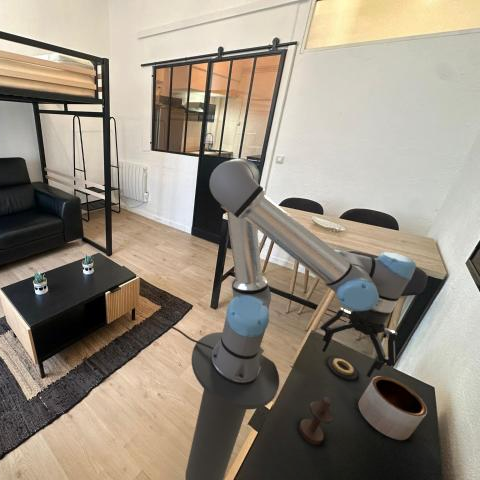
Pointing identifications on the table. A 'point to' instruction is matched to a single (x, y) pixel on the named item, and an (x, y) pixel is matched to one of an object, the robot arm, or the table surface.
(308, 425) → the brown wooden peg stand
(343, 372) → the brass ring
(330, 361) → the rubber pad
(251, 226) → the robot arm
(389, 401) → the planter
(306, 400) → the table surface
